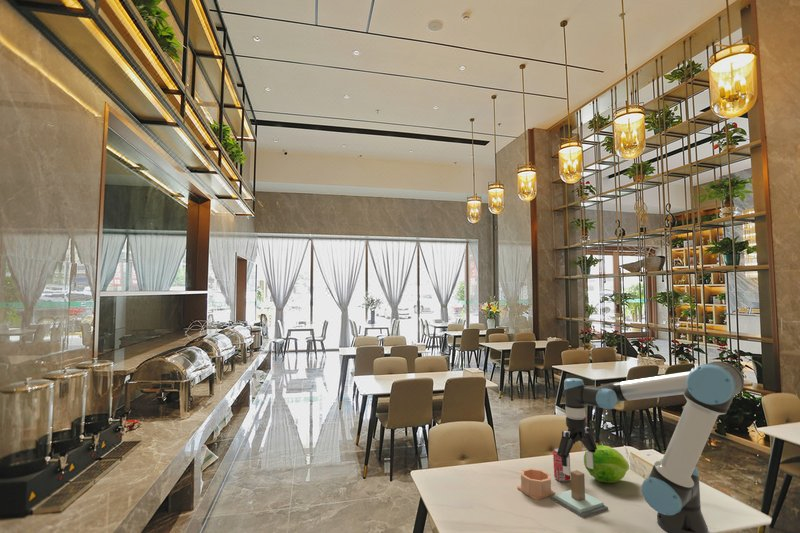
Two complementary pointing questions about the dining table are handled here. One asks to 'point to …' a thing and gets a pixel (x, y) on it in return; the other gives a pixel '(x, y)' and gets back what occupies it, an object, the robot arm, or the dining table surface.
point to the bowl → (536, 483)
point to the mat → (583, 514)
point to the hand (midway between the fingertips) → (578, 471)
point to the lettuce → (607, 464)
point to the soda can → (560, 467)
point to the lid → (578, 495)
